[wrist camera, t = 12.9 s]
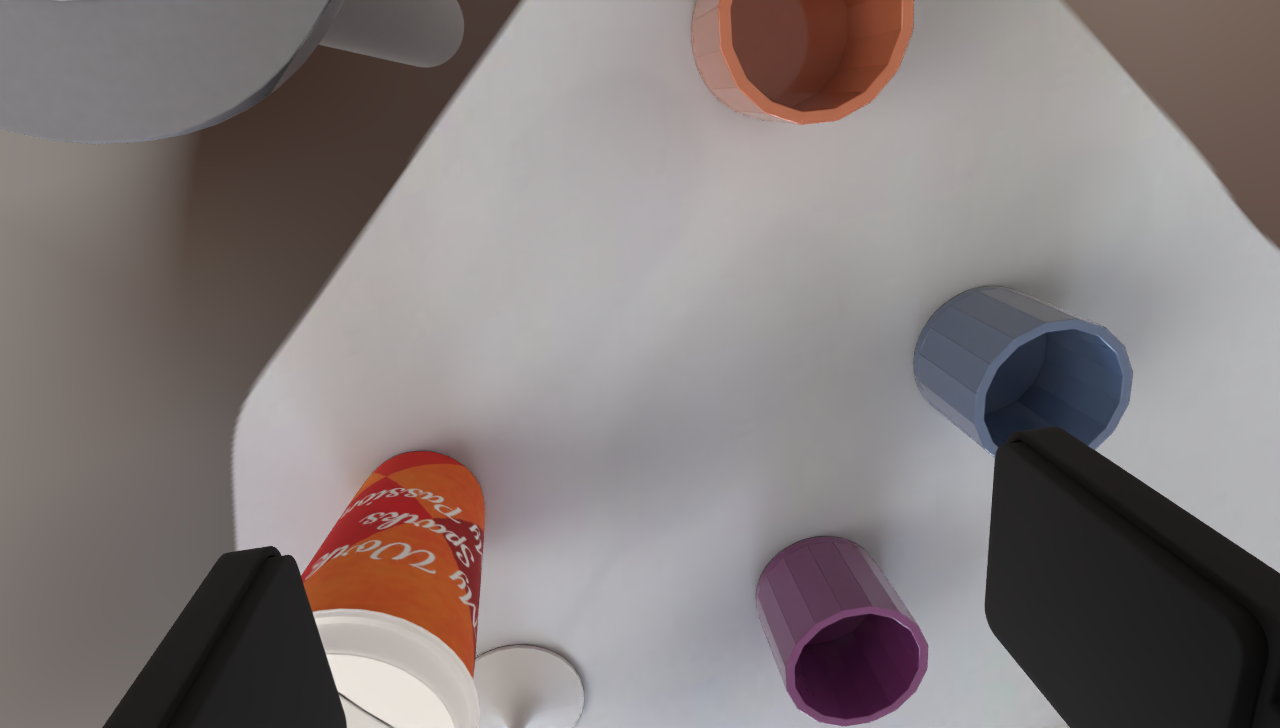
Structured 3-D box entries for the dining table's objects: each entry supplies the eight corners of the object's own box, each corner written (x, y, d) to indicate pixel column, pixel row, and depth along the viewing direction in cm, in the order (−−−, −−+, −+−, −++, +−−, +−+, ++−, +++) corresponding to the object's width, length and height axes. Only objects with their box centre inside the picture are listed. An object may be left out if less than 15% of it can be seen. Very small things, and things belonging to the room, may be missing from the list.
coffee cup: (536, 470, 37) (520, 696, 23) (465, 598, 39) (410, 876, 25) (375, 399, 35) (249, 598, 21) (308, 537, 37) (153, 802, 23)
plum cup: (729, 603, 41) (756, 683, 35) (815, 513, 40) (857, 581, 34) (818, 662, 43) (857, 747, 37) (903, 578, 42) (957, 653, 36)
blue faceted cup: (884, 365, 37) (942, 413, 32) (985, 257, 36) (1064, 286, 30) (975, 442, 39) (1044, 499, 34) (1074, 341, 38) (1163, 384, 32)
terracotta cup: (657, 44, 31) (677, 32, 26) (767, -101, 30) (814, -146, 24) (776, 152, 33) (819, 163, 28) (885, 21, 32) (954, 4, 26)
